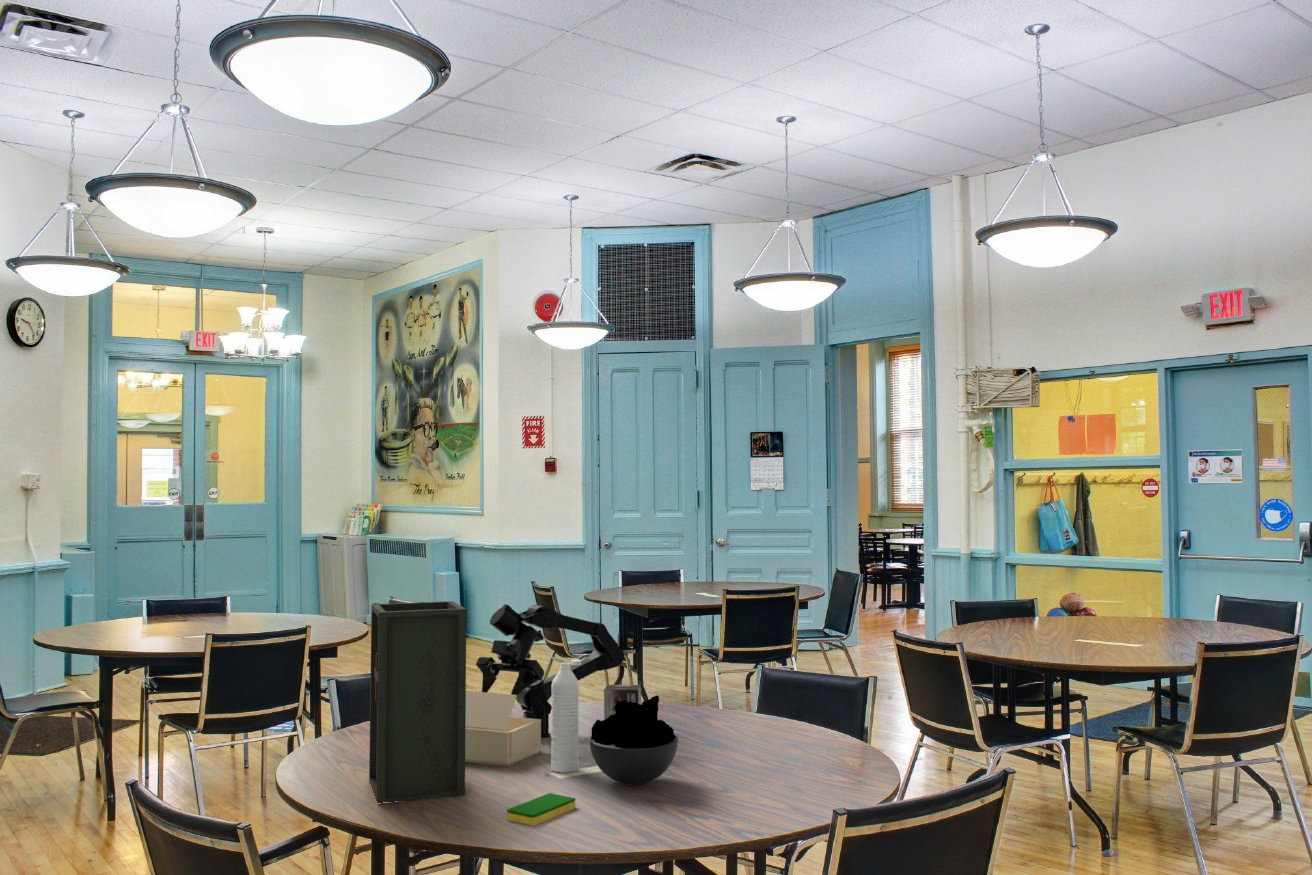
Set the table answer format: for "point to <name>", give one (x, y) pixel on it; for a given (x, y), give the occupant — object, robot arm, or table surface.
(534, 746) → the carton
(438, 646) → the dark green square bin
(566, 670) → the water bottle
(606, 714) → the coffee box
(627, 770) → the bowl of black rocks
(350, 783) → the table surface
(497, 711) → the far flap
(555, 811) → the dish sponge
